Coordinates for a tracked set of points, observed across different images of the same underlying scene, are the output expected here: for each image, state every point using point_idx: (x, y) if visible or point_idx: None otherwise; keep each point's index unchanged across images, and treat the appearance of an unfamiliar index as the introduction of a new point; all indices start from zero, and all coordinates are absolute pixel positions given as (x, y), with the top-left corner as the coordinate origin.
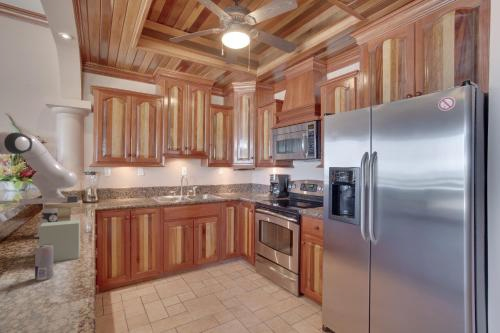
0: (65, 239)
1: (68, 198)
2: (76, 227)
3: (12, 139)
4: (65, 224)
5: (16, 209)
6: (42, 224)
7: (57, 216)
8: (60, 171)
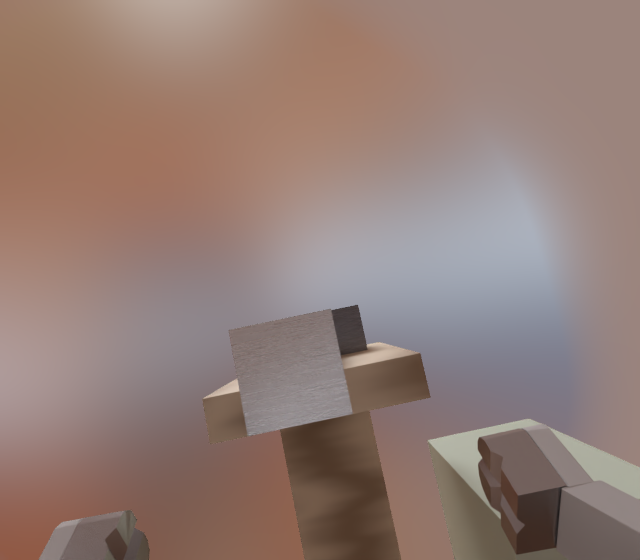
0: None
1: (359, 318)
2: None
3: None
4: (566, 436)
5: (552, 444)
6: None
7: (382, 473)
8: None
